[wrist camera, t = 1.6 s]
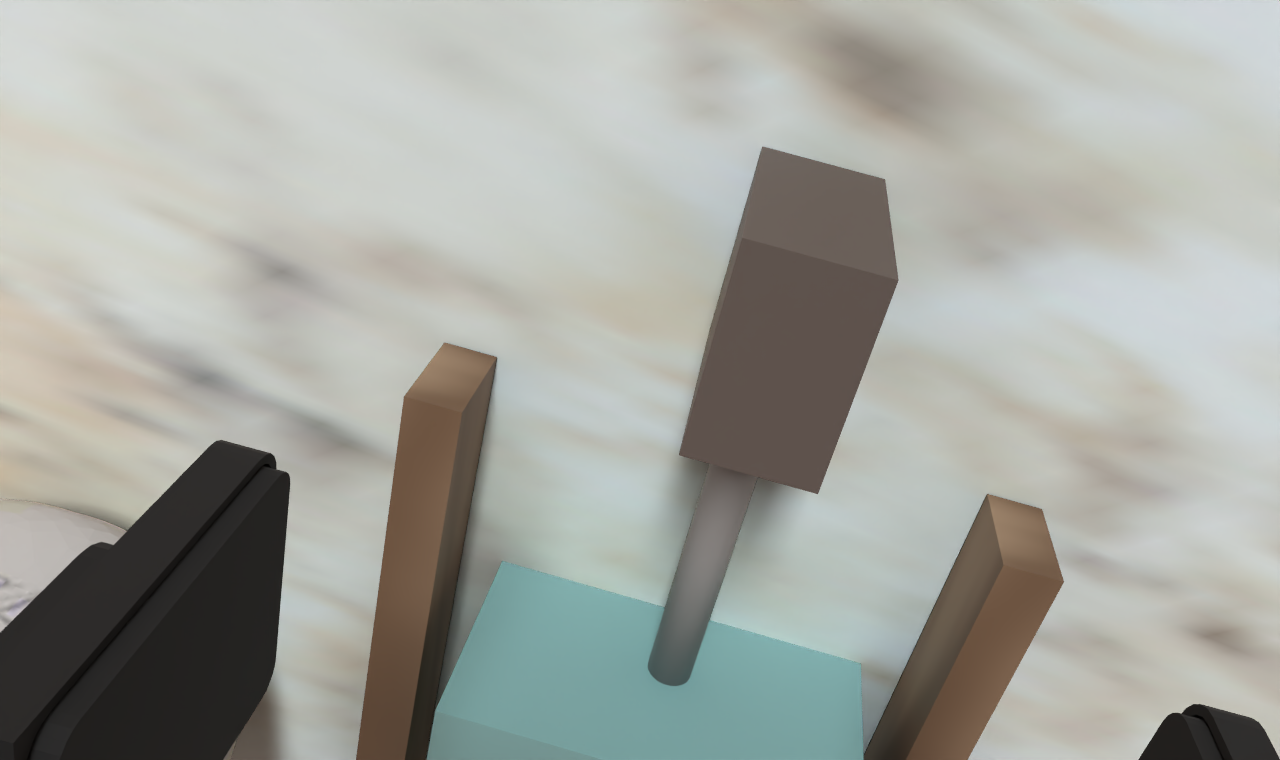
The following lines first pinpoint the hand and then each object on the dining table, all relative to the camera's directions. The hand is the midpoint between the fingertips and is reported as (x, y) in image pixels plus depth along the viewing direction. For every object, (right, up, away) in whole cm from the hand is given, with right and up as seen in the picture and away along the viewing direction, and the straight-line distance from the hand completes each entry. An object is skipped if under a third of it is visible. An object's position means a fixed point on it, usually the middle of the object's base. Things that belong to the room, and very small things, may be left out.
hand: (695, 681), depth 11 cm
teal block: (+1, -1, +14) cm, 14 cm away
